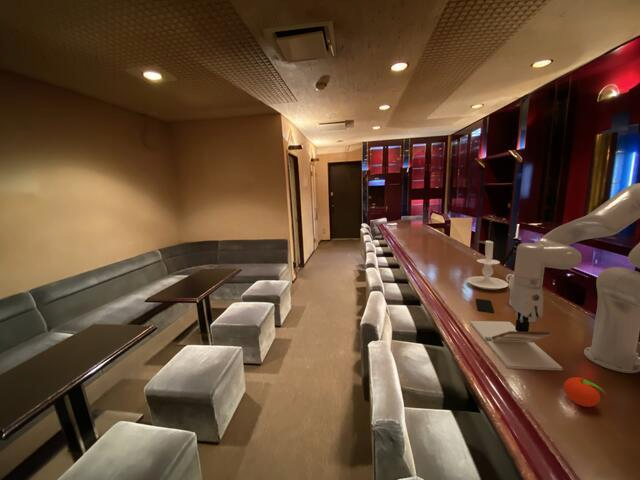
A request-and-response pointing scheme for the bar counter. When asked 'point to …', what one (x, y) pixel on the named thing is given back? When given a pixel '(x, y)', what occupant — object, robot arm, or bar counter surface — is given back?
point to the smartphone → (484, 306)
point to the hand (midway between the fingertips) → (521, 331)
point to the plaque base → (514, 348)
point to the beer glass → (511, 285)
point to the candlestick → (488, 272)
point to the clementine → (582, 391)
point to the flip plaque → (520, 336)
